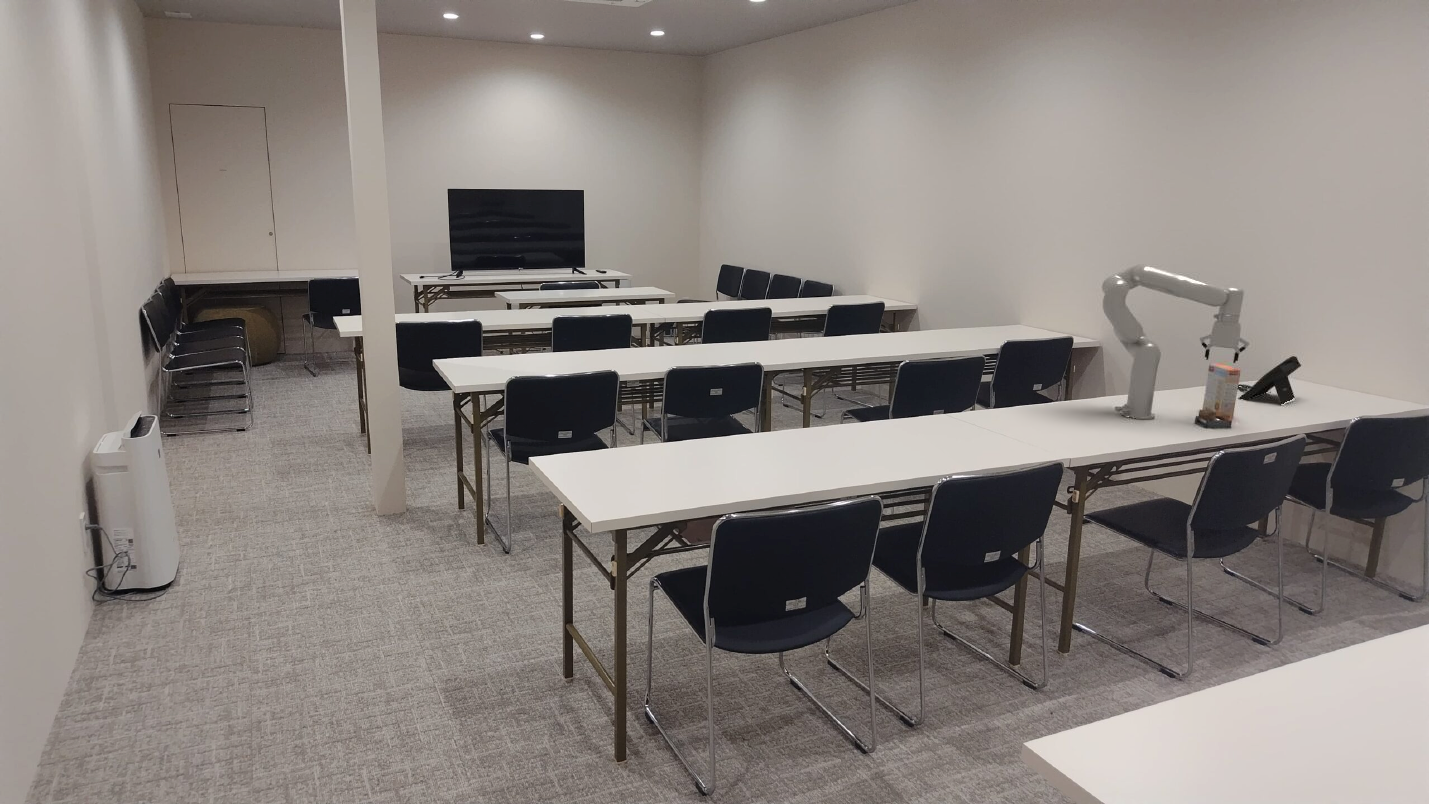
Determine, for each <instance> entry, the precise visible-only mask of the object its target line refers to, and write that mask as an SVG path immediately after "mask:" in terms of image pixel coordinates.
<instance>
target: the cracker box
mask: <svg viewBox="0 0 1429 804" xmlns="http://www.w3.org/2000/svg"><path fill="white" fill-rule="evenodd" d="M1241 371H1242V370H1241V369H1239V368H1236V367H1232V366H1230V365H1227V364H1224V363H1215V362H1214V363H1212V362H1211V363H1209V365H1208V373H1207V379H1206V385H1205V390H1204V391H1205V393H1204V398H1203V404H1202V409H1201V410H1208V409H1209V410H1211V411H1214V412H1216V414H1217V411H1221V412H1224V413H1226V414H1229V415H1232V416H1233V418H1232V420H1233V419H1234V413H1235V407H1236V402H1237V401H1236V400H1237V396H1238V395H1237V394H1238V384H1239V383H1240V377H1241Z"/></svg>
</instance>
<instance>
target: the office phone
mask: <svg viewBox="0 0 1429 804" xmlns="http://www.w3.org/2000/svg"><path fill="white" fill-rule="evenodd" d="M1301 367H1302V364H1301V363H1300V362H1299V359H1298V358H1297V356H1295V355H1292V356H1289V357H1288V358H1286V359H1285V360H1283V361H1282V362H1280V363H1279V364H1277V365H1276V366H1275V367H1274V368H1272V369H1271V370H1269V371H1268V372H1267V373H1265V374H1264V375H1263V376H1261V378H1259V379H1258V380H1257V381H1256V382H1255V383H1254V384H1253V385H1249V384H1243V383H1241V384H1239V383H1238V389H1239V392H1244V393H1242V394H1241V395H1240V396H1239V397H1237V399H1238V400H1241V399H1243V400H1242V401H1248V400H1251V399H1254V398H1257V397H1259V396H1258V395H1260V396H1262V395H1261V394H1263V395H1265V394H1264V393H1266V392H1268V393H1272V389H1273V388H1274V389H1275V392H1276V394H1277V397H1278V400H1279V403H1280V405H1281V404H1284V403H1285V402H1287V401H1290V400H1292V399H1293V398H1295V397H1296V396H1295V395H1294V391H1293V388H1292V386H1291V383H1290V379H1289V375H1291V374H1293V373H1294V372H1295V371H1296V370H1298V369H1299V368H1301ZM1239 386H1243V387H1239ZM1244 387H1248V388H1244ZM1249 388H1251V389H1249ZM1238 389H1237V390H1238ZM1256 396H1257V397H1256ZM1253 397H1254V398H1253ZM1250 398H1251V399H1250ZM1295 399H1296V398H1295Z"/></svg>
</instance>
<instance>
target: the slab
mask: <svg viewBox="0 0 1429 804" xmlns="http://www.w3.org/2000/svg"><path fill="white" fill-rule="evenodd" d="M1197 416H1198V417H1200V418H1202V419H1205V420H1215V417H1216V412H1214V411H1211V410H1209V409H1208V410H1202V409H1199V411H1198V415H1197Z"/></svg>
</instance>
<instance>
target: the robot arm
mask: <svg viewBox="0 0 1429 804" xmlns="http://www.w3.org/2000/svg"><path fill="white" fill-rule="evenodd" d="M1138 286H1140V287H1142V288H1146V289H1149V290H1153V291H1156V292H1160V293H1162V294H1165V295H1166V294H1167V295H1169V296H1173V297H1177V298H1181V299H1185V300H1188V301H1189V300H1190V301H1193V302H1197V303H1200V304H1204V305H1207V306H1210V307H1214V308H1215V307H1218V308H1219V309H1218V313H1217V314H1213V318H1215V319H1216V320H1215V321H1214V322H1213V325H1212V328H1211V331H1210V332H1211V333H1210V334H1207V335H1204V336H1201V337H1200V338H1199V341H1200V343H1201V345H1202V347H1203V348H1204V349H1205V353H1204V358H1206V359H1205V360H1206V361H1208V360H1209V357H1210V352H1211V351H1210V349H1211V348H1212V347H1217V348H1225V349H1234V351H1235V352H1234V355H1233V360H1232V361H1233V364H1236V362H1238V361H1239V355H1240V353H1242V352H1243V351H1246V348H1248V346H1249V345H1250V342H1248V341H1247V340H1245V339H1244V338H1241V322H1239V321H1240V318H1241V313H1242V311H1241V310H1242V307H1243V301H1244V294H1245V291H1244V289H1243V288H1241V287H1235V286H1225V287H1223V286H1217V285H1212V284H1211V285H1210V284H1207V283H1203V282H1202V281H1201V282H1200V281H1197V280H1194V279H1192V278H1190V277H1188V276H1185V275H1182V274H1179V273H1175V272H1172V271H1169V270H1165V269H1162V268H1159V267H1155V266H1152V265H1149V264H1145V263H1141V264H1140V263H1139V264H1136V265H1134V266H1131V267H1129V268H1126V269H1125V270H1122V271H1120V272H1118V273H1115V274H1112V275H1110V276H1108V277H1107V278H1105V280H1104V281H1103V282H1102V286H1101V288H1102V289H1101V290H1102V292H1103V293H1104V296H1103V298H1102V309H1103V313H1104V314H1105V317H1106V318H1107V319H1108V321H1109V322H1110V324H1111V325H1112V326H1113V331H1114V332H1113V333H1114V335H1115V336H1116V337H1117V339H1118V340H1119V342H1120V343H1121V345H1122V346H1123V347H1124V348H1125V350H1126V351H1127V352H1128V354H1129V355H1130V356H1131V357H1132V358H1133V361H1132V365H1131V369H1130V370H1131V371H1130V376H1129V378H1130V379H1129V383H1128V385H1129V386H1128V392H1127V393H1128V394H1127V401H1126V403H1124V405H1122V406H1118V405H1117V406H1115V407H1114V410H1115V411H1116V412H1121V415H1122V414H1123V415H1125V416H1124V417H1126V416H1129V417H1134V418H1136V419H1135V420H1144V419H1148V420H1153V419H1155V417H1156V414H1155V413H1153V411H1152V409H1153V404H1154V403H1153V402H1154V395H1155V387H1156V381H1157V373H1158V369H1159V368H1158V367H1159V364H1160V360H1161V355H1162V354H1161V353H1162V351H1161V350H1160V349H1161V348H1160V347H1159V345H1158V344H1157V343H1156V342H1154V341H1152V340H1151V339H1150V338H1149V337H1148V336H1147V334H1146V333H1145V332H1144V329H1143V328H1144V327H1143V325H1142V324H1141V323H1140V321H1139V320H1138V319H1136V317H1135V316H1134V314H1133V312H1132V311H1131V310H1130V308H1129V307H1128V306H1127V303H1126V299H1127V296H1128V294H1129V292H1130V290H1133V289H1135V288H1137V287H1138ZM1208 339H1209V344H1207V343H1206V342H1205V340H1208ZM1239 343H1242V344H1243V346H1242V347H1240V348H1239ZM1123 415H1122V416H1123ZM1129 417H1128V418H1129ZM1134 418H1133V419H1134Z"/></svg>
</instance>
